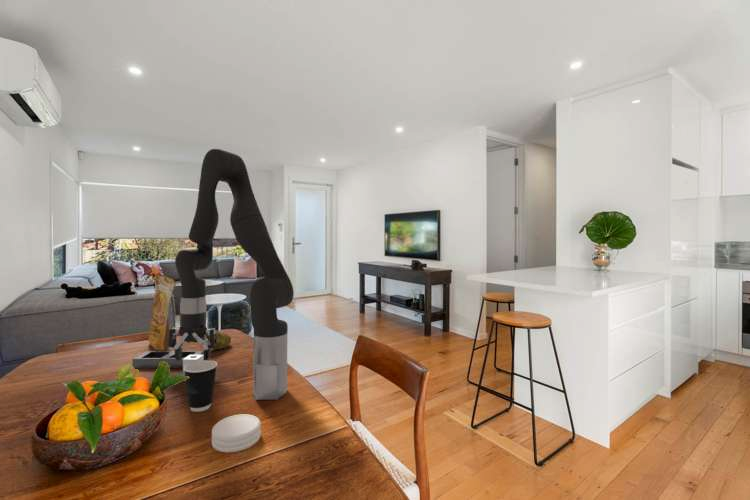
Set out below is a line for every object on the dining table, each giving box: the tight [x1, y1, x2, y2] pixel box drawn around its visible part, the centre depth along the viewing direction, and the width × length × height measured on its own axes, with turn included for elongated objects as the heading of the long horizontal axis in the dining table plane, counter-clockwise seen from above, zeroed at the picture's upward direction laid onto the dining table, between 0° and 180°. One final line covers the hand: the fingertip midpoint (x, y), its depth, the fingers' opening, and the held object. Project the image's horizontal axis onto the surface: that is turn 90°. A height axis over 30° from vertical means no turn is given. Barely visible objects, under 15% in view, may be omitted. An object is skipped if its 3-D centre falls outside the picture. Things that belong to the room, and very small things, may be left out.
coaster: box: [211, 413, 262, 453], centre depth 77 cm, size 10×10×4 cm
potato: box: [205, 330, 232, 350], centre depth 138 cm, size 8×13×8 cm, turn 140°
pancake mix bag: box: [148, 274, 177, 351], centre depth 141 cm, size 7×19×28 cm, turn 44°
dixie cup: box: [182, 359, 218, 412], centre depth 91 cm, size 8×8×11 cm
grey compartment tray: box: [131, 350, 204, 369], centre depth 121 cm, size 8×20×3 cm, turn 94°
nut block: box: [182, 355, 204, 376], centre depth 113 cm, size 4×4×6 cm
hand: (192, 360), depth 113 cm, fingers open, 8 cm apart
